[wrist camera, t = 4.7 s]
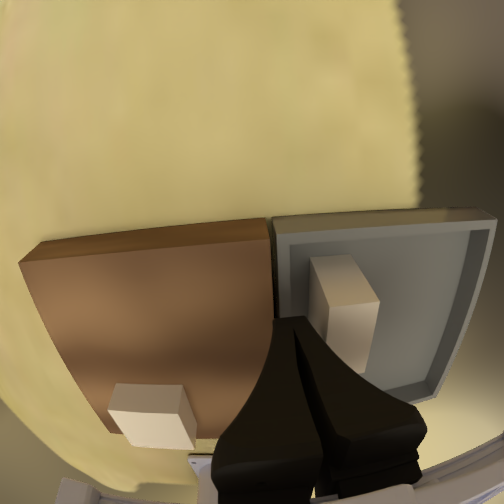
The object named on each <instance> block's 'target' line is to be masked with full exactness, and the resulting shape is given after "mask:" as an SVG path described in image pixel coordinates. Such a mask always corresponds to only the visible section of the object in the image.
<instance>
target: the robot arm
mask: <svg viewBox="0 0 504 504" xmlns="http://www.w3.org/2000/svg"><path fill="white" fill-rule="evenodd" d="M272 325H273V331H272V338H271V343H270V347H269V351H268V354H267V358H266V360H265V363H264V366H263V369H262V371H261V374H260V376H259V378H258V381H257V383H256V385H255V387H254V389H253V390H252V392H251V394H250V396H249V398H248V399H247V401H246V403H245V404H244V406H243V407H242V409H241V410H240V412H239V413H238V414H237V416H236V417H235V419H234V420H233V421H232V423H231V424H230V425H229V426H228V427H227V428H226V430H225V431H224V432H223V433H222V434H221V435H220V437H219V440H218V442H217V445H216V447H215V450H214V453H213V455H190V456H188V459H187V460H188V462H189V464H190V465H191V467H192V469H193V470H194V472H195V474H196V475H197V477H198V496H197V504H482V503H484V502H485V501H487V500H489V499H491V498H492V497H494V496H496V495H497V494H498V493H500V492H502V491H503V490H504V431H503V433H502V434H501V435H499V436H497V437H495V438H493V439H492V440H490V441H488V442H486V443H484V444H482V445H480V446H478V447H476V448H474V449H472V450H470V451H467V452H465V453H463V454H461V455H459V456H456V457H454V458H452V459H450V460H447V461H445V462H442V463H440V464H437V465H435V466H432V467H430V468H427V469H424V470H422V471H421V470H420V467H419V464H418V462H417V460H418V459H419V455H418V452H417V448H418V446H419V445H420V443H421V442H422V440H423V439H424V437H425V435H426V433H427V426H426V424H425V422H424V419H423V418H422V417H421V414H420V413H419V411H418V410H417V408H416V407H415V406H413V405H411V404H409V403H406V402H404V401H402V400H400V399H397V398H395V397H393V396H391V395H389V394H388V393H386V392H384V391H382V390H380V389H379V388H377V387H376V386H374V385H373V384H371V383H370V382H368V381H367V380H365V379H364V378H363V377H361V376H360V375H359V374H357V373H356V372H355V371H354V370H353V369H351V368H350V367H349V366H348V365H347V364H346V363H345V362H344V361H342V360H341V359H340V358H339V357H338V356H337V355H336V354H335V352H334V351H333V350H332V349H331V348H330V347H329V346H328V345H327V344H326V342H325V341H324V340H323V339H322V338H321V336H320V335H319V334H318V333H317V331H316V330H315V329H314V327H313V326H312V325H311V323H310V322H309V320H308V319H307V317H306V316H304V315H302V316H293V317H283V318H275V319H274V320H273V321H272ZM314 487H315V498H311V496H312V492H313V488H314ZM55 504H178V503H165V502H156V501H148V500H141V499H134V498H128V497H122V496H117V495H111V494H106V493H102V492H100V491H99V490H98V489H97V488H96V487H94V486H92V485H90V484H88V483H85V482H81V481H77V480H74V479H70V478H66V477H63V478H62V480H61V484H60V487H59V491H58V494H57V498H56V501H55Z"/></svg>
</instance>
